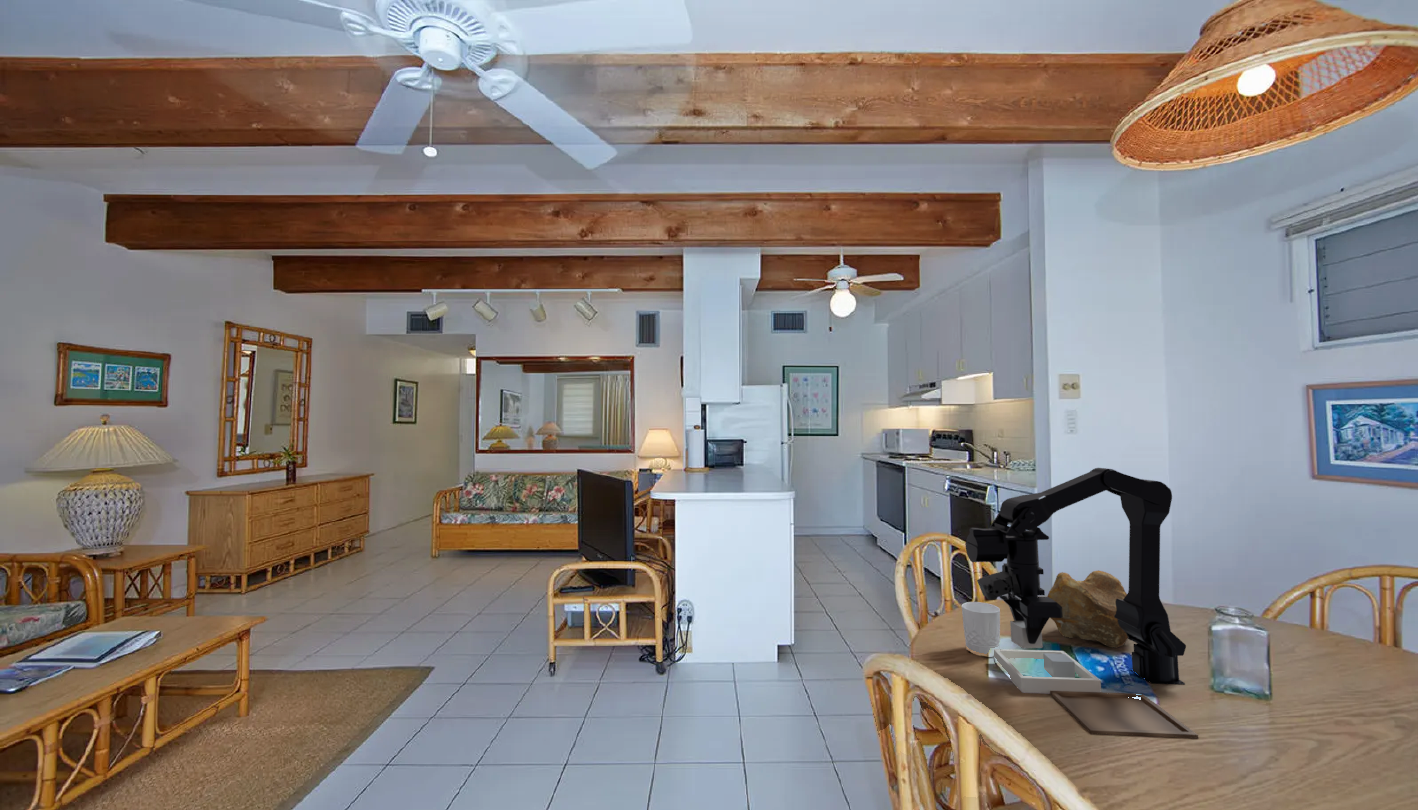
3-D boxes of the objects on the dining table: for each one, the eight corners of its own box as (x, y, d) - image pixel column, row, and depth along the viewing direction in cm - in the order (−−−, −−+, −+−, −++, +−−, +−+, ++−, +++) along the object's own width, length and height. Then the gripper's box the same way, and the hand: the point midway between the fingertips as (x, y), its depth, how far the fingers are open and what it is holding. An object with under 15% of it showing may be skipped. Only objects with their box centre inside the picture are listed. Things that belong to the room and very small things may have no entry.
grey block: (1065, 673, 113) (1064, 653, 113) (1075, 682, 109) (1074, 662, 109) (1044, 673, 114) (1043, 653, 114) (1053, 681, 110) (1052, 661, 110)
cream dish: (1063, 666, 118) (1063, 650, 118) (1101, 697, 104) (1100, 680, 104) (994, 664, 120) (993, 649, 120) (1022, 695, 106) (1021, 677, 106)
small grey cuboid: (1030, 640, 114) (1029, 620, 115) (1042, 647, 110) (1041, 627, 111) (1011, 640, 114) (1010, 621, 114) (1023, 648, 110) (1021, 628, 111)
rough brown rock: (1104, 663, 120) (1108, 595, 120) (1032, 632, 136) (1035, 571, 135) (1165, 647, 130) (1169, 584, 130) (1092, 620, 145) (1095, 563, 145)
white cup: (998, 661, 121) (996, 614, 121) (960, 653, 126) (958, 608, 126) (1004, 649, 127) (1002, 605, 128) (967, 642, 132) (965, 599, 132)
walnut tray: (1142, 699, 103) (1142, 693, 103) (1198, 741, 89) (1198, 734, 89) (1050, 696, 105) (1050, 690, 105) (1091, 736, 91) (1090, 730, 91)
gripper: (966, 551, 123) (969, 622, 123) (998, 572, 105) (1002, 656, 104) (1019, 551, 122) (1023, 623, 121) (1061, 573, 104) (1066, 658, 103)
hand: (1026, 639), depth 112 cm, fingers closed on small grey cuboid, 4 cm apart
